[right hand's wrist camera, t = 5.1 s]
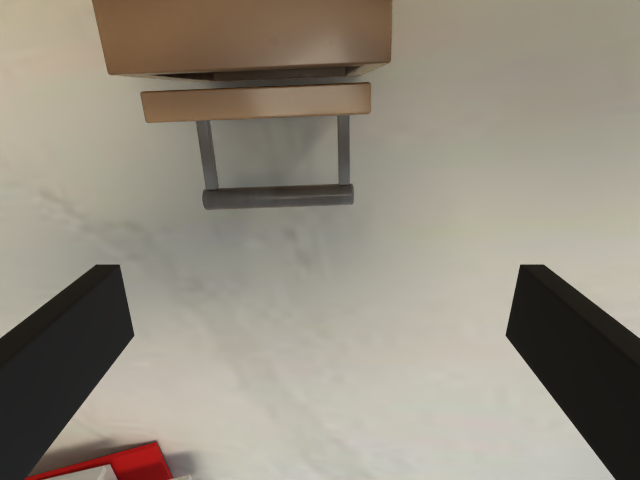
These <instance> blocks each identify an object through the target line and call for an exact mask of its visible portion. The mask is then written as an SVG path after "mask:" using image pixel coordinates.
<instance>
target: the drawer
mask: <svg viewBox="0 0 640 480" xmlns="http://www.w3.org/2000/svg"><path fill="white" fill-rule="evenodd" d="M140 94H141V100H142V105H143V110H144V115H145V120H146V122H147V123H155V122H181V121H196V125H197V131H198V138H199V145H200V151H201V158H202V165H203V172H204V178H205V185H206V189H204V191H203V196H202V199H203V205H204V208H205V209H207V210H214V209H243V208H271V207H299V206H327V205H352V204H353V203H354V188H353V184H350V153H349V115H357V114H370V112H371V83H369V82H362V83H338V84H314V85H289V86H265V87H241V88H217V89H192V90H168V91H144V92H141V93H140ZM332 115H337V122H338V171H339V184H324V185H297V186H269V187H242V188H218V187H219V185H218V178H217V171H216V163H215V156H214V149H213V141H212V134H211V127H210V120H231V119H256V118H281V117H306V116H332Z"/></svg>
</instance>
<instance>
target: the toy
mask: <svg viewBox="0 0 640 480" xmlns="http://www.w3.org/2000/svg"><path fill="white" fill-rule="evenodd" d="M24 480H192V478H191V475H187V476H182V477H178V478H174V479H173V477H172V475H171V473H170V471H169V469H168V466H167V464H166V462H165V460H164V458H163V455H162V453H161V451H160V449H159V447H158V444H157V442H155V443H151V444H147V445H144V446H140V447H136V448H133V449H129V450H125V451H122V452H118V453H114V454H111V455H107V456H103V457H100V458H96V459H93V460H89V461H85V462H82V463H78V464H74V465H71V466H67V467H63V468H60V469H56V470H52V471H49V472H45V473H41V474H38V475H34V476H30V477H27V478H25V479H24Z"/></svg>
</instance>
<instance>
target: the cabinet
mask: <svg viewBox="0 0 640 480" xmlns="http://www.w3.org/2000/svg"><path fill="white" fill-rule="evenodd" d="M92 2H93V7H94V12H95V16H96V21H97V25H98V30H99V34H100V39H101V43H102V48H103V53H104V57H105V62H106V66H107V71H108V74H109V75H116V76H128V77H141V78H154V79H166V80H179V81H192V82H224V81H248V80H272V79H296V78H320V77H344V76H360V75H362V74H365V73H367V72H369V71H372V70H374V69H376V68H379V67H381V66H384V65H386V64H388V63H390V61H391V35H392V0H92Z"/></svg>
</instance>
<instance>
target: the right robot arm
mask: <svg viewBox="0 0 640 480" xmlns="http://www.w3.org/2000/svg"><path fill="white" fill-rule="evenodd" d="M133 337H134V331H133V326H132V322H131V317H130V312H129V307H128V302H127V298H126V293H125V288H124V283H123V278H122V273H121V269H120V265H95V266H94V267H93V268H91V269H90V270H89V271H87V272H86V273H85V274H83V275H82V276H81V277H80V278H78V279H77V280H76V281H74V282H73V283H72V284H70V285H69V286H68V287H67V288H65V289H64V290H63V291H61V292H60V293H59V294H57V295H56V296H55V297H54V298H52V299H51V300H50V301H48V302H47V303H46V304H44V305H43V306H42V307H41V308H39V309H38V310H37V311H35V312H34V313H33V314H31V315H30V316H29V317H28V318H26V319H25V320H24V321H22V322H21V323H20V324H18V325H17V326H16V327H15V328H13V329H12V330H11V331H9V332H8V333H7V334H5V335H4V336H3V337H2V338H0V480H24V479H25V478H26V477H27V476H28V474H29V473H30V472H31V470H32V469H33V468H34V466H35V465H36V464H37V462H38V461H39V460H40V458H41V457H42V456H43V455H44V453H45V452H46V451H47V449H48V448H49V447H50V445H51V444H52V443H53V441H54V440H55V439H56V438H57V436H58V435H59V434H60V432H61V431H62V430H63V428H64V427H65V426H66V424H67V423H68V422H69V421H70V419H71V418H72V417H73V415H74V414H75V413H76V411H77V410H78V409H79V407H80V406H81V405H82V403H83V402H84V401H85V400H86V398H87V397H88V396H89V394H90V393H91V392H92V390H93V389H94V388H95V386H96V385H97V384H98V383H99V381H100V380H101V379H102V377H103V376H104V375H105V373H106V372H107V371H108V369H109V368H110V367H111V366H112V364H113V363H114V362H115V360H116V359H117V358H118V356H119V355H120V354H121V352H122V351H123V350H124V349H125V347H126V346H127V345H128V343H129V342H130V341H131V339H132V338H133ZM506 337H507V338H508V339H509V341H510V342H511V343H512V345H513V346H514V347H515V349H516V350H517V351H518V352H519V354H520V355H521V356H522V358H523V359H524V360H525V362H526V363H527V364H528V366H529V367H530V368H531V369H532V371H533V372H534V373H535V375H536V376H537V377H538V379H539V380H540V381H541V383H542V384H543V385H544V386H545V388H546V389H547V390H548V392H549V393H550V394H551V396H552V397H553V398H554V400H555V401H556V402H557V404H558V405H559V406H560V407H561V409H562V410H563V411H564V413H565V414H566V415H567V417H568V418H569V419H570V421H571V422H572V423H573V424H574V426H575V427H576V428H577V430H578V431H579V432H580V434H581V435H582V436H583V438H584V439H585V440H586V441H587V443H588V444H589V445H590V447H591V448H592V449H593V451H594V452H595V453H596V455H597V456H598V457H599V459H600V460H601V461H602V462H603V464H604V465H605V466H606V468H607V469H608V470H609V472H610V473H611V474H612V476H613V477H614V478H615V479H616V480H640V338H638V337H637V336H636V335H635V334H633V333H632V332H631V331H629V330H628V329H627V328H625V327H624V326H623V325H622V324H620V323H619V322H618V321H616V320H615V319H614V318H612V317H611V316H610V315H609V314H607V313H606V312H605V311H603V310H602V309H601V308H599V307H598V306H597V305H596V304H594V303H593V302H592V301H590V300H589V299H588V298H586V297H585V296H584V295H583V294H581V293H580V292H579V291H577V290H576V289H575V288H573V287H572V286H571V285H570V284H568V283H567V282H566V281H564V280H563V279H562V278H560V277H559V276H558V275H557V274H555V273H554V272H553V271H551V270H550V269H549V268H547V267H546V266H545V265H520V269H519V273H518V278H517V283H516V288H515V293H514V298H513V302H512V307H511V312H510V317H509V322H508V326H507V331H506Z"/></svg>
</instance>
